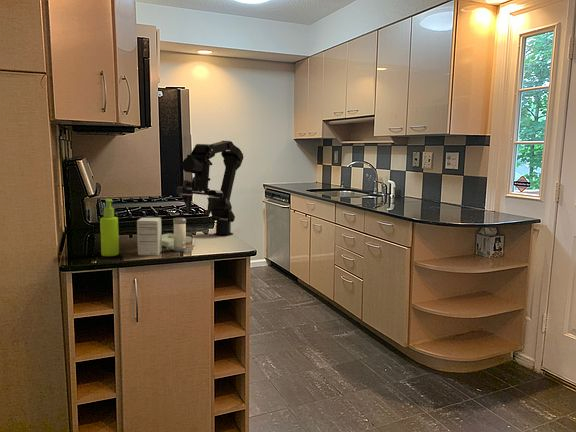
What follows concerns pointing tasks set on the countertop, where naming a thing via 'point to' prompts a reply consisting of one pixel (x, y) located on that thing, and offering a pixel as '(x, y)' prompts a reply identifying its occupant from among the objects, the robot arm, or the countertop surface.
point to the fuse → (179, 234)
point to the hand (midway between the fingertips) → (198, 213)
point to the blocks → (189, 248)
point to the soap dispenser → (109, 231)
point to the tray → (171, 240)
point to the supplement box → (149, 236)
